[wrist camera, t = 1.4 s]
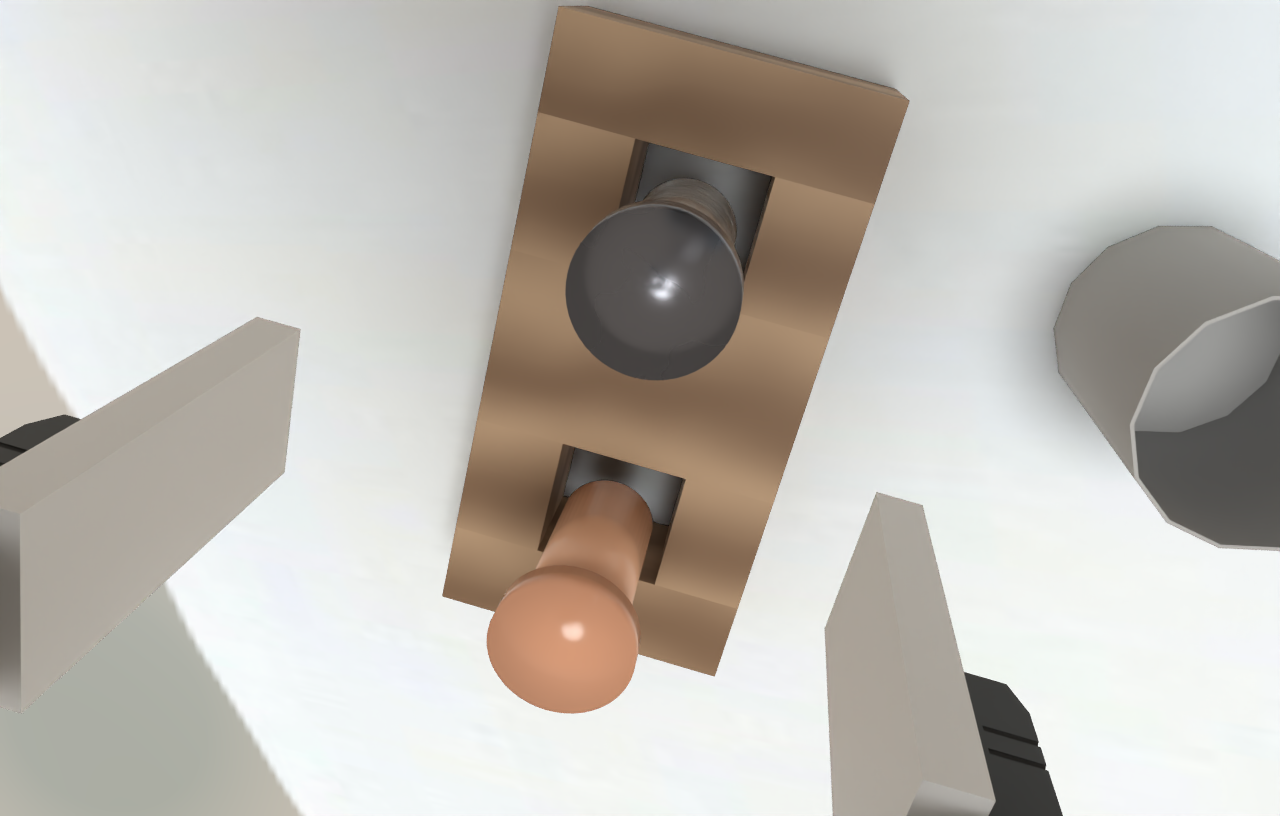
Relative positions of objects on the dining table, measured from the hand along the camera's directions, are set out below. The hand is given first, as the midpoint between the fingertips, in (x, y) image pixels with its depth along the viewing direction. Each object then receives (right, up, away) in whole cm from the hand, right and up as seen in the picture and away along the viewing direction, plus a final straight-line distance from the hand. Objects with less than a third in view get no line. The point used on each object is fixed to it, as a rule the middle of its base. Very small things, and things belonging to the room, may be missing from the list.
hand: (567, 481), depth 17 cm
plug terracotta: (0, -3, +23) cm, 23 cm away
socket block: (+2, +4, +26) cm, 26 cm away
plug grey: (+3, +7, +18) cm, 20 cm away
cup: (+22, +4, +23) cm, 32 cm away
